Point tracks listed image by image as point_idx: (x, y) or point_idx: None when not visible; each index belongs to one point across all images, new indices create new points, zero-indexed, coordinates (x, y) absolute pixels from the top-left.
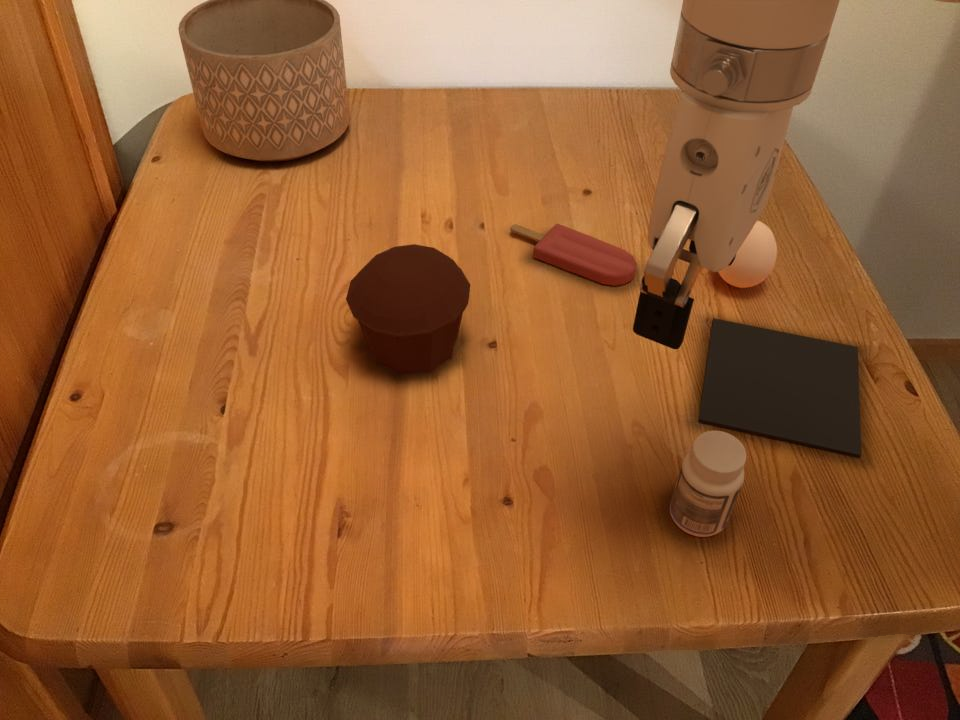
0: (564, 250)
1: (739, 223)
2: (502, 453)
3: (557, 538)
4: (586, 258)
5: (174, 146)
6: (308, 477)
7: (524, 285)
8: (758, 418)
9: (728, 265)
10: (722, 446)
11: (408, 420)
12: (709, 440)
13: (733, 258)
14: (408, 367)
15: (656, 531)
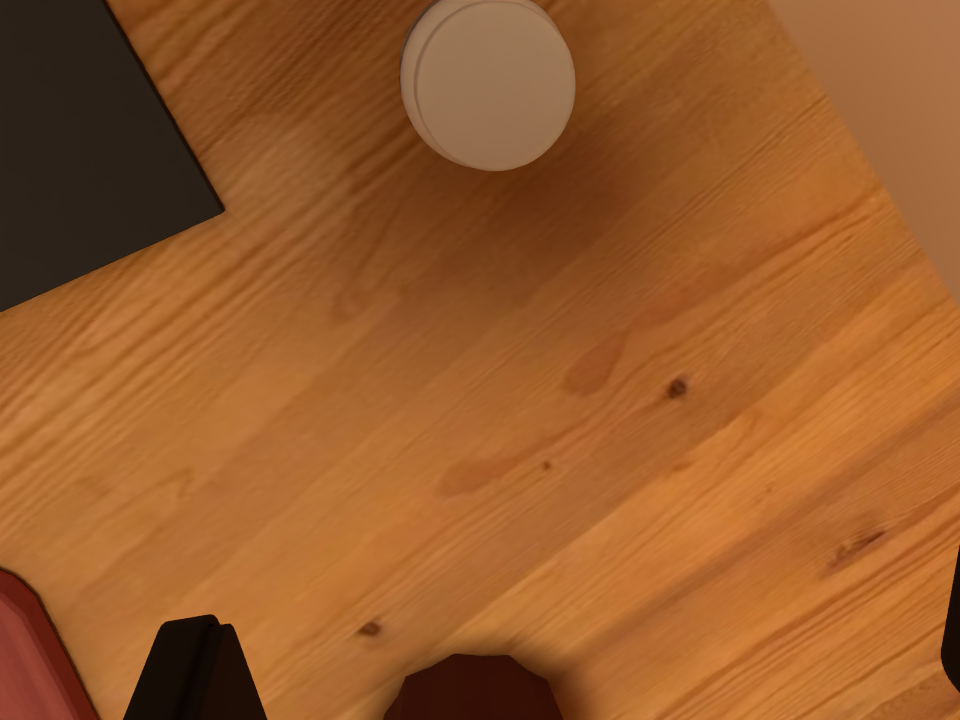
0: (39, 711)
1: None
2: (587, 460)
3: (699, 271)
4: (16, 670)
5: None
6: (810, 631)
7: None
8: (97, 91)
9: (215, 617)
10: (477, 91)
11: (624, 610)
12: (480, 135)
13: (191, 650)
14: (541, 688)
15: None
